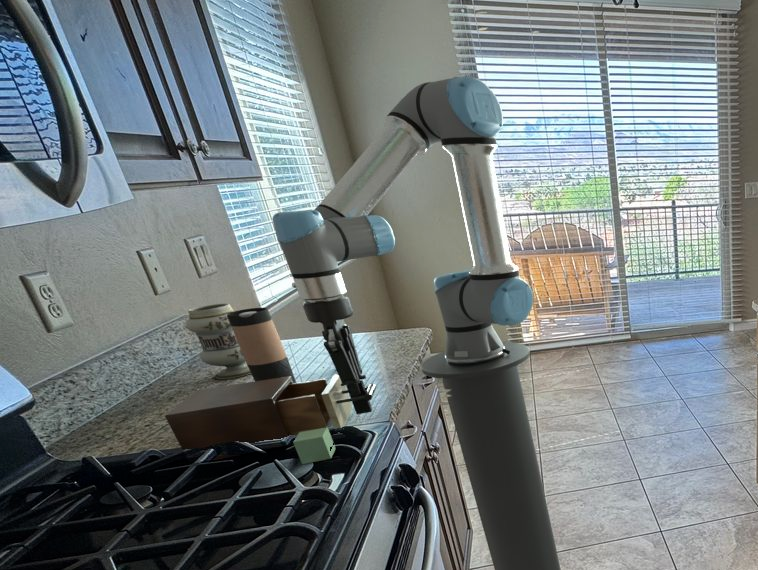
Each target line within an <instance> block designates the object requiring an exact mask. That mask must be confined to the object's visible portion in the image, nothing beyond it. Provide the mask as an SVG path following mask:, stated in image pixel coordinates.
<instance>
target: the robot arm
mask: <svg viewBox="0 0 758 570" xmlns="http://www.w3.org/2000/svg"><path fill="white" fill-rule="evenodd" d="M503 124H504V115H503V110H502V106H501V104H500V101H499V99H498V98H497V96H496V94H495V92H494V91H492V90H491V88H489V85H487V84H486V83H485V82H484V81H482V80H481V79H479V78H476V77H472V76H453V77H451V78H445V79H440V80H435V81H428V82H423V83H420V84H419V85H416V86H415V87H414V88H412V89H411V90H410V91H408V92H407V93H406V94H405V96H404V97H402V98H401V99H400V101H398V103H397V104H396V105H395V106H394V107H393V108H392V109H391V111H390V112H389V113H388V114H387V115H386V116H385V117H384V119H383V126H384V128H383V129H382V130H381V131H380V132H379V134H378V135H377V136H376V137H375V139H373V140H372V142H371V143H370V144H369V145H368V147H367V148H366V149H365V150H364V151H363V152H362V153H361V155H360V156H359V157H358V158H357V160H356V161H354V163H353V164H352V165H351V167H350V168H349V169H348V170H347V171H346V172H345V173H344V175H343V176H342V177H341V178H340V179H339V180H338V182H337V183H336V184H335V185H334V186H333V187H332V189H331V190H330V191H329V192H328V194H327V195H326V196H325V197H324V198H323V199H322V200H321V202H320V203H319V204H318V205H317V206H316V207H315V208H314V209H305V210H292V211H280V212H276V213H274V214H273V216H272V224H273V229H274V231H275V235H276V239H277V242H278V244H279V245H280V248H281V250H282V254H283V255H284V258H285V261H286V263H287V266H288V268H289V271H290V273H291V277H292V279H293V282H292V283H291V287H292V288H293V289H297V293H298V297H299V299H301V300H303V302H302V308H303V311H304V313H305V316H306V318H307V320H308V321H309V322H311V323H313V324H318V323H320V324H322V329H323V330H322V331H321V334H322V337H323V339H324V341H323V347H324V348H325V350H326V351H327V353H328V355H329V357H330V359H331V362H332V364H333V366H334V368H335V371H336V373H337V374H338V375H339V377H340V380H341V386H345V387H346V390H348V392H349V393H348V396H349V398H352V397H358V396H364V395H365V393H366V391H367V390H366V389H365V387H366V386H365V384H364V381H363V380H367V375H366V374H363V369H362V367H361V363H360V359H359V356H358V352H357V348H356V345H355V341H354V337H353V333H352V327H351V326H350V325H349V324H346V321H345V319H348V318H351V317H352V316H353V315H354V310H353V307H352V304H351V301H350V298H349V297H348V296H347V295H345V294H347V292H348V291H347V288H346V284H345V283H344V279H343V275H342V273H341V271H340V268H339V265H338V263H339V262H344V261H350V260H357V259H363V258H369V257H379V256H380V255H386V254H390V253H391V252H392V251H393V250H394V248H395V244H396V238H395V235H394V231H393V228H392V227H391V225H390V224H389V222H388V221H387V220H386V219H385V218H384V217H382V216H380V215H376V214H375V215H369V214H370V213H371V212H372V210H374V208H375V207H376V205H377V204H378V203H379V202H380V201H381V199H382V198H383V197H384V196H385V195H386V193H387V192H388V191H389V189H390V188H391V187H392V186H393V184H394V183H395V182H396V181H397V180H398V178H399V177H400V176H401V175H402V174H403V172H404V171H405V169H407V167H408V166H409V165H410V164H411V163H412V162H413V160H414V158H415V157H417V156H422V155H424V154H426V152H427V151H428V150H429V149H430V148H431V147H432V146H434V145H436V144H438V143H440V142H441V147H442V149H443V150H444V151H445V152H447V153H448V154H449V155H450V156H451V160H452V163H453V164H452V166H453V169H454V174H455V179H456V184H457V189H458V194H459V198H460V199H459V200H460V203H461V209H462V215H463V218H464V223H465V229H466V233H467V239H468V242H469V247H470V248H469V249H470V252H471V258H472V262H473V265H472V267H471V268H470V269H466V270H460V271H456V272H451V273H450V272H449V273H447V274H442V275H438V276H436V277H434V279H433V287H434V294H435V295H436V299H437V302H438V303H437V304H438V306H439V310H440V314H441V318H442V321H443V324H444V328H445V333H446V336H445V337H446V339H445V348H444V349H445V350H444V351H445V358H446V361H447V363H448V364H450V365H454V366H470V365H478V364H483V363H487V362H491V361H494V360H497V359H499V358H501V357H502V356H504V355H505V353H507V354H509V353H510V351H509V350H506V349H505V348H504V345H503V343H502V342H503V341H502V340H501V338H500V337H499V335H498V333H497V332H496V330H495V329H494V326H493V325H498V326H515V325H519V324H522V323H523V322H524V321H525V320H526V319H527V318H528V316H529V314H530V313H531V311H532V309H533V306H534V305H533V304H534V294H533V290H532V288H531V286H530V284H528V282H527V281H526V280H525V279H522V278H521V275H520V270H519V267H518V266H517V265H516V264H514V263H512V260H511V256H510V249H509V244H508V239H507V233H506V228H505V227H506V226H505V222H504V217H503V211H502V206H501V199H500V194H499V189H498V184H497V183H498V182H497V176H496V173H495V171H496V170H495V167H494V161H493V154H494V152H495V150H496V149H497V148H498V145H497V144H498V143H497V138H496V136H497V135H498V134H499V133H500V131H501V130H502V127H503ZM362 374H363V375H362ZM351 404H352V407H353V408H354V410H355V415H362V414H368V413H372V412H373V407H372V405H371V400H369V401H367V400H365V399H362V400H356V401H351Z"/></svg>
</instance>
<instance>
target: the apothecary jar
mask: <svg viewBox="0 0 758 570" xmlns="http://www.w3.org/2000/svg"><path fill="white" fill-rule="evenodd" d="M234 311H235V310H234V309H233V307H232V306H231V304H230V303H214V304H207V305H202V306H197V307H193V308H190V309H188V310H187V312H188V317H189V318H188V319H187V320H186V322H185V327H186V329H187V330H188V331H189V332H191V333H195V336H196V337H197V339H198V341H199V344H200V345H201V348H202V351H201V352H200V353H199V354H200V355H199V358H200V360H201V361H202V362H203V363H205V364H207V365H210V366H214V367H225V368H223V369H221V370H220V371H219V372H217V373H216V374H215V375H214V378H215V379H217V380H229V379H235V378H236V379H237V378H241V377H244V376H248V375H252V374H251V372H250V370H249V368H248V366H247V363H246V361H245V359H244V356H243V354H242V351H241V349H240V347H239V344H238V342H237V339H236V337H235V334H234V332H233V330H232V327H231V325H230V322H229V320H228V318H227V314H228V313H231V312H234Z"/></svg>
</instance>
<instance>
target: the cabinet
mask: <svg viewBox="0 0 758 570" xmlns="http://www.w3.org/2000/svg"><path fill="white" fill-rule="evenodd" d="M289 384H293V381H292V378H291V376H288V377H282V378H275V379H269V380H262V381H255V380H254V381H250V382H249V381H248V382H243V383H237V384H236V383H235V384H230V385H222V386H215V387H209V388H202V389H196V390H194V391H193V392H192V393H191V394H190V395H188V396H187V397H186V398H185V399H183V400H181V402H180V403H178V404H177V405H176V406H175V407H173V408H172V409H171V410H170V411H169V412H167V413H166V414H165V415H164V417H165V419H166V422H167V423H168V424H169V427H170V429H171V430H172V431H171V432H172V433H173V434H174V436H175V438H176V440H177V442H178V444H179V446H180V448H181V450H182V451H183V450H185V449H194V448H204V447H209V446H210V445H215V444H220V443H226V442H234V441H239V442H249V443H255V442H259V441H264V440H273V439H281V438H284V437H287V436H289V434H288V432H287V429H286V427H285V424H284V422H283V420H282V417H281V415H280V412H279V410H278V408H277V405H276V403H275V400H276V399H277V398H278V397H279V395H280V394H281V393H282V392H283V391H284V389H285V388H286V387H287V386H288V385H289ZM239 456H240V455H223V456H218V457H216V458H214V459H213V460H212V461H216V460H222V459H223V460H224V459H228V458H234V457H239Z"/></svg>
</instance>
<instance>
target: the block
mask: <svg viewBox="0 0 758 570" xmlns="http://www.w3.org/2000/svg"><path fill="white" fill-rule="evenodd" d="M333 443H334V439H333V438H332V435H331V432H330V429H329V428H328V427H326V428H320V429H315V430H309V431H304V432H299V433H298V435H297V437H296V438H295V440H294V441H293V445H294V448H295V450H296V452H297V455H298V457H299V460H300V463H301V464H302V465H306V464H310V463H311V464H312V463H316V462H321V461H326V460H331V459H332V458H333V455H334V453H335V451H336V446H335V445H336V444H334V445H333ZM332 445H333V447H332V449H331V451H330V447H331V446H332Z"/></svg>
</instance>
